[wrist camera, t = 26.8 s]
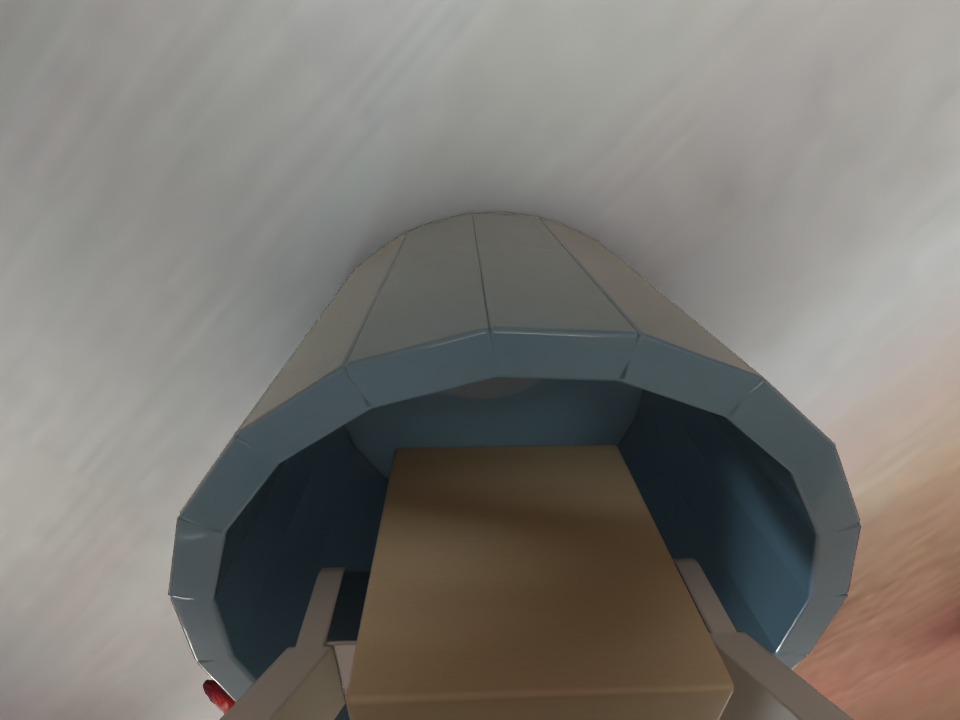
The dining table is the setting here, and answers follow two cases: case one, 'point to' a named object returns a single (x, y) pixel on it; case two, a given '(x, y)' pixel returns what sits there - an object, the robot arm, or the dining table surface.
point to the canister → (509, 436)
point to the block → (527, 595)
